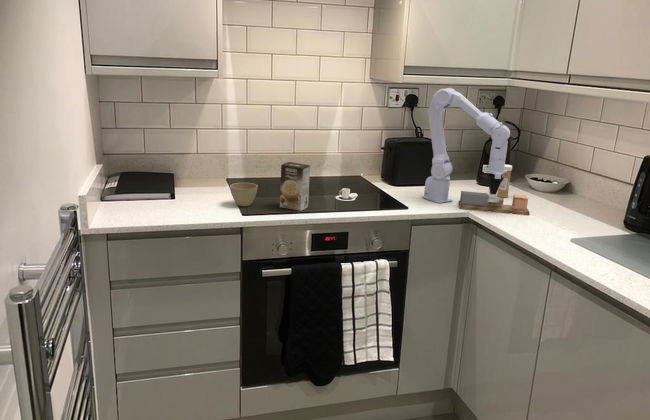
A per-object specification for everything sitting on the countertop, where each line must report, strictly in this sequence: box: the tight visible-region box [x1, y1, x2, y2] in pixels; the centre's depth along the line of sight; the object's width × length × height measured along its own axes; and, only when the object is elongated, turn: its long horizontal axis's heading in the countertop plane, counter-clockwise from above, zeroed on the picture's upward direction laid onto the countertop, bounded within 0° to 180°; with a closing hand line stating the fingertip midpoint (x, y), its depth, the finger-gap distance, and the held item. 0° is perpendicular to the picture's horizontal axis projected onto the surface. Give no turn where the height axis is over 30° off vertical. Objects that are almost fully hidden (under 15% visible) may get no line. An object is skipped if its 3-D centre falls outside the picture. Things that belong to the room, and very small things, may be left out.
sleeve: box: [459, 190, 489, 207], centre depth 207 cm, size 10×4×4 cm, turn 80°
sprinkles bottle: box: [496, 164, 513, 199], centre depth 224 cm, size 5×5×14 cm
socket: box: [511, 193, 529, 211], centre depth 204 cm, size 4×5×5 cm
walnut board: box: [457, 200, 530, 216], centre depth 206 cm, size 26×8×1 cm, turn 80°
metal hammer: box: [488, 188, 505, 205], centre depth 205 cm, size 14×3×8 cm, turn 80°
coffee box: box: [279, 161, 311, 212], centre depth 194 cm, size 9×6×16 cm
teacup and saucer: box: [335, 187, 358, 202], centre depth 211 cm, size 9×8×4 cm
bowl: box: [229, 182, 258, 207], centre depth 196 cm, size 10×10×7 cm
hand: (492, 193), depth 205 cm, fingers closed on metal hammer, 2 cm apart
